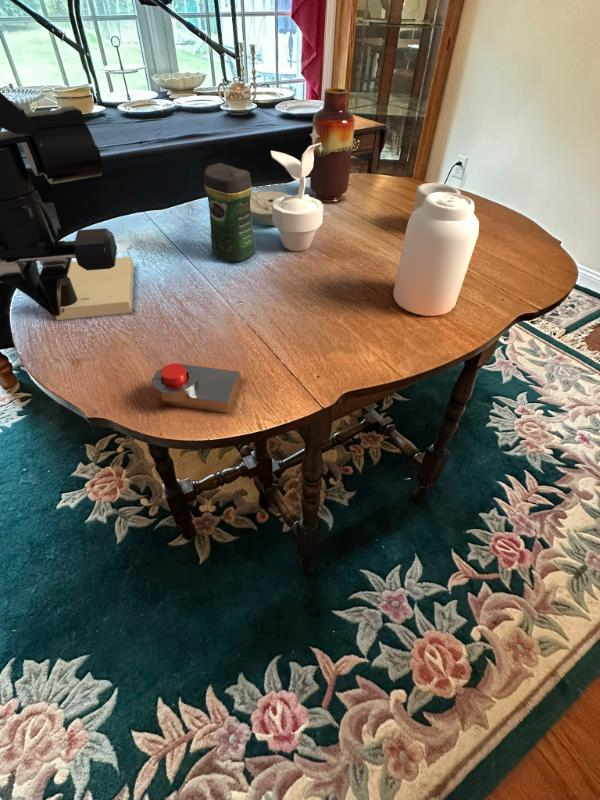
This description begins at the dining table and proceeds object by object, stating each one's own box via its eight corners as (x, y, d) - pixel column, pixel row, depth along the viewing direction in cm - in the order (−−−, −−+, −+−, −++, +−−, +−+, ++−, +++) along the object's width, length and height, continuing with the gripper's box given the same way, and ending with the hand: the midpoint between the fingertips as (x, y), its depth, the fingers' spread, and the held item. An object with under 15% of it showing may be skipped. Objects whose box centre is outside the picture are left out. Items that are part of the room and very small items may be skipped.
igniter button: (159, 386, 62) (157, 377, 61) (168, 371, 64) (166, 361, 63) (182, 389, 62) (180, 380, 60) (190, 373, 64) (188, 364, 63)
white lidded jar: (446, 324, 82) (481, 218, 68) (384, 306, 86) (404, 202, 72) (460, 294, 90) (493, 194, 76) (402, 279, 94) (424, 181, 80)
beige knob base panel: (42, 327, 77) (37, 315, 75) (58, 273, 91) (54, 261, 89) (131, 318, 80) (127, 306, 78) (133, 267, 94) (131, 256, 92)
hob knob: (76, 305, 78) (67, 284, 75) (52, 307, 77) (42, 286, 74) (78, 294, 81) (70, 272, 78) (55, 296, 80) (46, 275, 77)
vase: (305, 202, 124) (310, 92, 106) (313, 189, 132) (318, 84, 113) (343, 206, 122) (354, 96, 104) (349, 193, 130) (360, 88, 112)
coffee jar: (260, 254, 100) (258, 167, 87) (236, 267, 95) (230, 176, 82) (230, 242, 104) (223, 157, 91) (206, 253, 99) (195, 165, 86)
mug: (442, 242, 108) (453, 200, 101) (402, 231, 112) (410, 190, 105) (458, 224, 116) (470, 184, 109) (420, 214, 120) (429, 176, 113)
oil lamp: (213, 215, 115) (211, 195, 112) (248, 200, 124) (247, 181, 120) (275, 237, 107) (275, 216, 103) (308, 219, 115) (309, 199, 112)
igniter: (151, 409, 64) (145, 389, 61) (172, 373, 69) (167, 353, 67) (226, 419, 63) (223, 400, 60) (240, 382, 68) (238, 362, 66)
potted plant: (329, 244, 105) (339, 124, 87) (303, 262, 98) (308, 136, 80) (287, 230, 110) (288, 115, 92) (259, 246, 103) (254, 125, 85)
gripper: (101, 164, 54) (131, 278, 65) (-68, 171, 50) (-6, 290, 61) (94, 197, 46) (129, 319, 57) (-107, 207, 43) (-28, 336, 54)
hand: (57, 314), depth 58 cm, fingers closed
